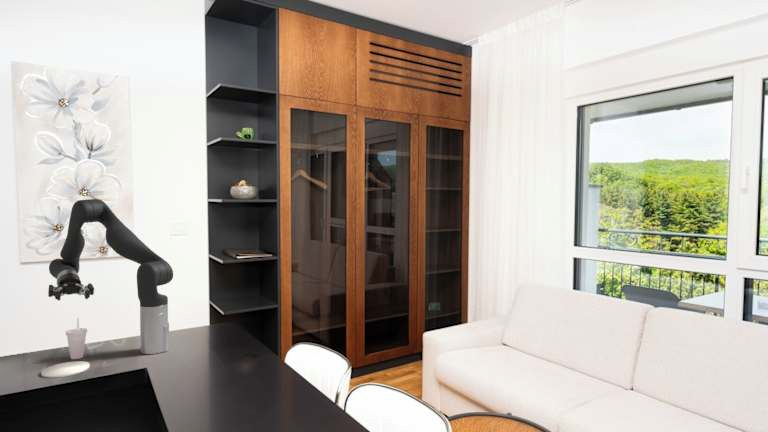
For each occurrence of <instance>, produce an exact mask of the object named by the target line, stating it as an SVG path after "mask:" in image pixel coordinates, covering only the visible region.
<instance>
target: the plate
mask: <svg viewBox="0 0 768 432" xmlns="http://www.w3.org/2000/svg"><path fill="white" fill-rule="evenodd" d="M90 366H91V365H90V362H88V361H77V360H74V361H67V362H62V363H55V364H54V365H50V366H48V367H46V368H44V369H42V370H41V371H40V373H41V374H40V375H41V377H43V378H49V379H51V378H52V379H53V378H54V379H55V378H56V379H58V378H63V377H70V376H74V375H77V374H81V373H84V372H85V371H88V370H89V369H90Z"/></svg>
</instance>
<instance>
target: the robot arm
mask: <svg viewBox="0 0 768 432" xmlns="http://www.w3.org/2000/svg"><path fill="white" fill-rule="evenodd" d="M95 222H98V223H100V224H101V225H102V226H103V227H104V228H105V240H106V244H107V246H109V247H110V248H111V249H112V251H114V252H115V253H116V254H118V255H119V256H120V257H123V258H124V259H127V260H129V261H132V262H134V263H137V264H139V266H138V267H137V271H136V288H137V297H138V300H139V320H140V321H139V323H140V324H139V325H140V327H139V328H140V329H139V330H140V331H139V333H140V334H139V336H140V337H139V339H140V341H139V342H140V349H139V350H140V353H141V354H143V355H153V354H154V355H155V354H159V353H166V352H168V350H169V348H170V323H169V318H168V317H169V304H168V303H169V302H168V296H167V295H165V294H161V293H159V292H158V287H159V286H164V285H167V284H169V283H170V282H172V280H173V278H174V271H173V268H172V266H171V265H170V263H168V262H167V261H166V260H165V259H164V258H162V257H161V256H159V254H157V253H156V252H154V250H152V249H151V248H150V247H148V245H147V244H145V243H144V242H143V241H142V240H141V239H140V238H139V237H138V236H137V235H136V234H135V232H133V231H132V230H130V229H129V228H128V226H126V225H125V224H124V222H122V221H121V219H119V217H117V215H116V214H115V213H114V212H113V211H112V209H111V208H110V207H109V205H108V204H107V203H105V201H103V200H102V199H98V198H90V199H89V198H88V199H87V198H86V199H80V200H76V201H75V202H74V203H73V205H72V208H71V212H70V216H69V222H68V227H67V228H68V229H67V233H66V238H65V240H64V243H63V246H62V248H61V251H60V253H59V256H60V258H55V259H52V261H51V262H49V265H48V270H49V271H48V272H49V274H50V275H51V276H52V277H53V278H54V279H56V285H57V286H54V285H53V284H49V285H48V291H47V294H48V295H47V296H48V297H51V298H52V297H54V298H55V300H57V301H61V297H63V296H65V295H66V296H67V295H68V296H69V295H73V294H74V295H78V296H84V299H85V300H89V299H90V296H94V295H95V294H94V293H95V287H94V286H93V284H92V283H88V284H87V285H84V284H82V282H81V279H80V276H79V272H80V259H81V255H82V253H83V250H84V247H85V245H86V243H85V237H84V235H83V233H82V227H83V225H84V224H86V223H87V224H88V223H95Z"/></svg>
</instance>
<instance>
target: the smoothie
mask: <svg viewBox="0 0 768 432" xmlns="http://www.w3.org/2000/svg"><path fill="white" fill-rule="evenodd" d="M87 333H88V329H87V328H85V327H84V328H83V327H82V328H81V327H80V317H78V318H76V328H72V329H69V330H67V331H65V335H66V338H67V344H68V345H67V346H68V351H69V355H70V357H69V358H70V359H71V360H77V359H82V358H84V353H85V344H86V336H87Z"/></svg>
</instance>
